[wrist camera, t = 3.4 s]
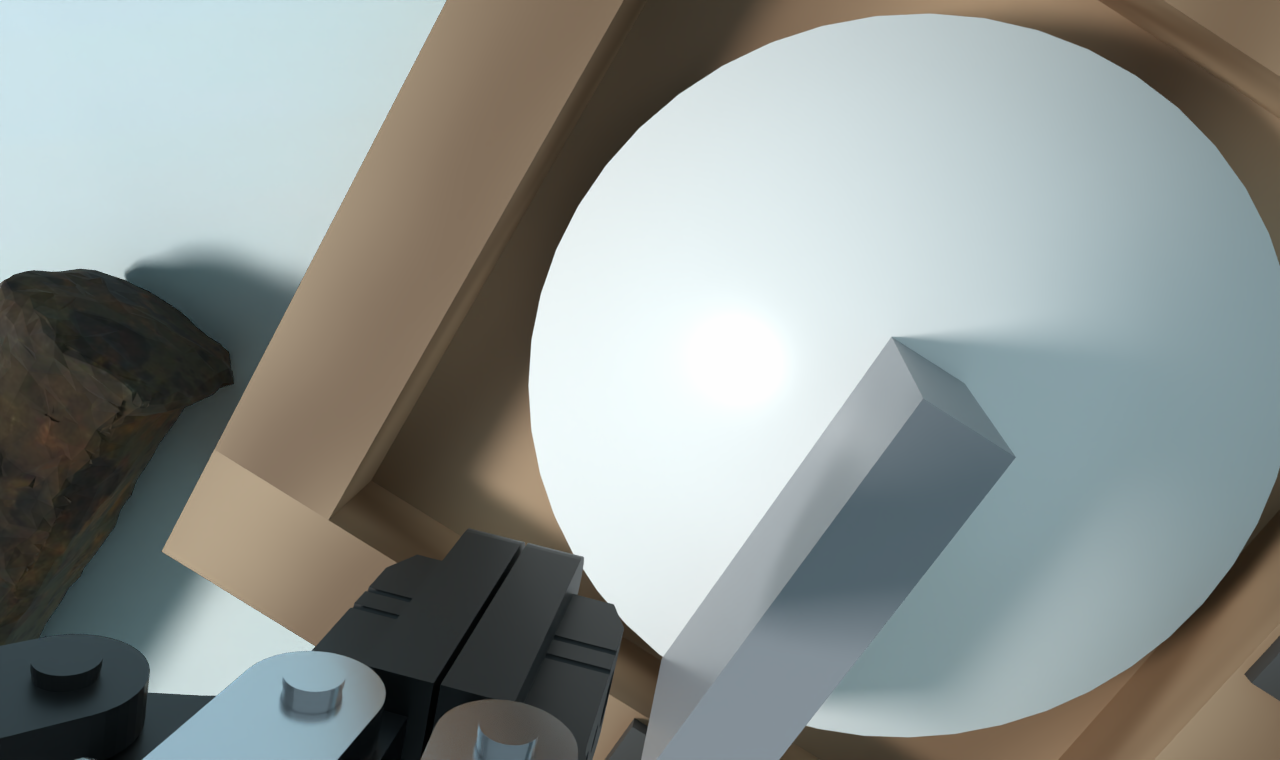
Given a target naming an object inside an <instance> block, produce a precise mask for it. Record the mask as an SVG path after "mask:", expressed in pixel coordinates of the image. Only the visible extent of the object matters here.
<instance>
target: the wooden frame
mask: <svg viewBox="0 0 1280 760" xmlns="http://www.w3.org/2000/svg"><path fill="white" fill-rule="evenodd" d="M930 13H931V14H942V15H954V16H965V17H977V18H986V19H991V20H995V21H999V22H1004V23H1008V24H1013V25H1017V26H1021V27H1026V28H1030V29H1035V30H1039V31H1041V32H1044V33H1046V34H1049V35H1052V36H1054V37H1057V38H1060V39H1062V40H1065V41H1068V42H1070V43H1073V44H1075V45H1078V46H1081V47H1083V48H1086V49H1089V50H1090V51H1092V52H1094V53H1096V54H1098V55H1099V56H1101V57H1103V58H1105V59H1107V60H1109V61H1110V62H1112V63H1114V64H1116V65H1118V66H1119V67H1121V68H1123V69H1125V70H1127V71H1128V72H1130V73H1132V74H1134V75H1136V76H1137V77H1138V78H1140V79H1141V80H1142V81H1144V82H1145V83H1146V84H1148V85H1149V86H1150V87H1151V88H1153V89H1154V90H1155V91H1157V92H1158V93H1159V94H1161V95H1162V96H1163V97H1165V98H1166V99H1167V100H1169V101H1170V102H1171V103H1173V104H1174V105H1175V106H1176V107H1178V108H1179V109H1180V110H1181V111H1182V112H1183V113H1184V114H1185V115H1186V116H1187V117H1188V118H1189V119H1190V120H1191V121H1192V122H1193V123H1194V124H1195V126H1196V127H1197V128H1198V129H1199V130H1200V131H1201V132H1202V133H1203V134H1204V135H1205V136H1206V137H1207V138H1208V139H1209V140H1210V141H1211V142H1212V143H1213V144H1214V145H1215V146H1216V148H1217V149H1218V150H1219V152H1220V153H1221V154H1222V156H1223V157H1224V159H1225V160H1226V161H1227V163H1228V164H1229V166H1230V167H1231V168H1232V170H1233V171H1234V173H1235V174H1236V175H1237V177H1238V178H1239V179H1240V181H1241V182H1242V184H1243V185H1244V186H1245V188H1246V190H1247V192H1248V194H1249V196H1250V197H1251V199H1252V201H1253V203H1254V205H1255V207H1256V209H1257V211H1258V213H1259V215H1260V217H1261V219H1262V221H1263V223H1264V225H1265V227H1266V229H1267V231H1268V233H1269V235H1270V238H1271V241H1272V244H1273V247H1274V250H1275V253H1276V256H1277V259H1278V262H1279V265H1280V0H447V1H446V3H445V5H444V7H443V9H442V10H441V12H440V14H439V16H438V18H437V20H436V22H435V24H434V26H433V28H432V30H431V32H430V34H429V36H428V38H427V39H426V41H425V43H424V45H423V47H422V49H421V51H420V53H419V55H418V57H417V59H416V61H415V63H414V65H413V66H412V68H411V70H410V72H409V74H408V76H407V78H406V80H405V82H404V84H403V86H402V88H401V90H400V92H399V94H398V95H397V97H396V99H395V101H394V103H393V105H392V107H391V109H390V111H389V113H388V115H387V117H386V119H385V121H384V123H383V124H382V126H381V128H380V130H379V132H378V134H377V136H376V138H375V140H374V142H373V144H372V146H371V148H370V150H369V152H368V153H367V155H366V157H365V159H364V161H363V163H362V165H361V167H360V169H359V171H358V173H357V175H356V177H355V179H354V181H353V182H352V184H351V186H350V188H349V190H348V192H347V194H346V196H345V198H344V200H343V202H342V204H341V206H340V208H339V210H338V211H337V213H336V215H335V217H334V219H333V221H332V223H331V225H330V227H329V229H328V231H327V233H326V235H325V237H324V238H323V240H322V242H321V244H320V246H319V248H318V250H317V252H316V254H315V256H314V258H313V260H312V262H311V264H310V266H309V267H308V269H307V271H306V273H305V275H304V277H303V279H302V281H301V283H300V285H299V287H298V289H297V291H296V293H295V295H294V296H293V298H292V300H291V302H290V304H289V306H288V308H287V310H286V312H285V314H284V316H283V318H282V320H281V322H280V324H279V325H278V327H277V329H276V331H275V333H274V335H273V337H272V339H271V341H270V343H269V345H268V347H267V349H266V351H265V353H264V354H263V356H262V358H261V360H260V362H259V364H258V366H257V368H256V370H255V372H254V374H253V376H252V378H251V380H250V382H249V383H248V385H247V387H246V389H245V391H244V393H243V395H242V397H241V399H240V401H239V403H238V405H237V407H236V409H235V410H234V412H233V414H232V416H231V418H230V420H229V422H228V424H227V426H226V428H225V430H224V432H223V434H222V436H221V438H220V439H219V441H218V443H217V445H216V447H215V449H214V451H213V453H212V455H211V457H210V459H209V461H208V463H207V465H206V467H205V468H204V470H203V472H202V474H201V476H200V478H199V480H198V482H197V484H196V486H195V488H194V490H193V492H192V494H191V496H190V497H189V499H188V501H187V503H186V505H185V507H184V509H183V511H182V513H181V515H180V517H179V519H178V521H177V523H176V525H175V526H174V528H173V530H172V532H171V534H170V536H169V538H168V540H167V542H166V544H165V546H164V548H163V550H162V552H163V553H165V554H166V555H168V556H170V557H171V558H173V559H175V560H176V561H178V562H179V563H181V564H183V565H184V566H186V567H188V568H189V569H191V570H192V571H194V572H196V573H197V574H199V575H201V576H202V577H204V578H205V579H207V580H209V581H210V582H212V583H214V584H215V585H217V586H218V587H220V588H222V589H223V590H225V591H227V592H228V593H230V594H231V595H233V596H235V597H236V598H238V599H240V600H241V601H243V602H244V603H246V604H248V605H249V606H251V607H253V608H254V609H256V610H257V611H259V612H261V613H262V614H264V615H266V616H267V617H269V618H270V619H272V620H274V621H275V622H277V623H279V624H280V625H282V626H283V627H285V628H287V629H288V630H290V631H292V632H293V633H295V634H296V635H298V636H300V637H301V638H303V639H305V640H306V641H308V642H309V643H311V644H313V645H314V646H316V645H317V644H318V643H319V642H320V641H321V640H322V639H323V638H324V636H325V635H326V634H327V633H328V632H329V631H330V630H331V629H332V628H333V626H334V625H335V624H336V623H337V622H338V621H339V620H340V619H341V617H342V616H343V615H344V614H345V613H346V612H347V611H348V610H349V609H350V607H351V608H353V606H354V603H355V602H356V601H357V600H358V598H359V597H360V596H361V595H362V594H363V593H364V592H365V591H368V588H369V586H370V585H371V584H372V583H373V582H374V581H375V580H376V578H377V577H378V576H379V575H380V574H381V573H382V572H383V571H384V569H385V568H386V567H389V566H391V565H393V564H396V563H398V562H401V561H403V560H405V559H408V558H410V557H413V556H415V555H421V556H425V557H429V558H433V559H437V560H441V561H442V560H443V559H444V558H445V557H446V555H447V554H448V553H449V551H450V550H451V549H452V548H453V546H454V545H455V544H456V542H457V541H458V540H459V539H460V537H461V536H462V535H463V533H464V532H465V531H466V530H467V529H468V528H471V529H475V530H479V531H483V532H487V533H490V534H494V535H498V536H502V537H506V538H510V539H514V540H518V541H522V542H525V546H526V545H527V544H528V543H531V544H535V545H539V546H543V547H547V548H551V549H555V550H559V551H563V552H567V553H571V554H573V552H572V550H571V548H570V546H569V544H568V542H567V540H566V538H565V536H564V534H563V532H562V530H561V528H560V526H559V524H558V522H557V520H556V518H555V516H554V513H553V510H552V507H551V504H550V501H549V498H548V496H547V493H546V490H545V487H544V484H543V481H542V478H541V475H540V471H539V466H538V461H537V456H536V451H535V446H534V441H533V436H532V431H531V417H530V401H529V386H528V384H529V370H530V355H531V340H532V335H533V330H534V325H535V320H536V315H537V310H538V305H539V301H540V296H541V292H542V289H543V286H544V283H545V281H546V278H547V275H548V272H549V269H550V266H551V263H552V260H553V258H554V255H555V252H556V249H557V247H558V245H559V243H560V241H561V239H562V237H563V235H564V233H565V231H566V229H567V227H568V225H569V223H570V221H571V219H572V217H573V215H574V213H575V211H576V209H577V207H578V206H579V204H580V203H581V201H582V200H583V198H584V197H585V195H586V194H587V192H588V191H589V189H590V188H591V187H592V185H593V184H594V182H595V181H596V179H597V178H598V176H599V175H600V173H601V172H602V170H603V169H604V168H605V166H606V165H607V164H608V163H609V161H610V160H611V159H612V158H613V157H614V156H615V155H616V154H617V153H618V151H619V150H620V149H621V148H622V147H623V146H624V145H625V144H626V142H627V141H628V140H629V139H630V138H631V137H632V136H633V135H634V134H635V132H636V131H637V130H638V129H639V128H640V127H641V126H642V125H644V124H645V123H646V122H647V121H648V120H649V119H651V118H652V117H653V116H654V115H655V114H656V113H658V112H659V111H660V110H661V109H662V108H663V107H665V106H666V105H667V104H668V103H669V102H670V101H672V100H673V99H674V98H675V97H676V96H677V95H679V94H680V93H682V92H683V91H685V90H686V89H688V88H689V87H691V86H692V85H694V84H695V83H697V82H698V81H700V80H702V79H703V78H705V77H706V76H708V75H709V74H711V73H712V72H714V71H715V70H717V69H718V68H720V67H721V66H723V65H725V64H727V63H729V62H731V61H734V60H736V59H738V58H740V57H742V56H744V55H746V54H748V53H750V52H752V51H754V50H757V49H759V48H761V47H763V46H765V45H767V44H769V43H771V42H774V41H778V40H781V39H784V38H787V37H790V36H793V35H796V34H799V33H802V32H805V31H808V30H811V29H814V28H817V27H821V26H825V25H830V24H836V23H841V22H847V21H852V20H857V19H863V18H868V17H874V16H889V15H909V14H930ZM578 595H579V596H583V597H587V598H591V599H595V600H599V601H603V602H607V601H606V600H605V599H604V598H603V597H602V596H601V594H600V593H599V592H598V591H597V589H596V588H595V586H594V585H593V583H592V582H591V580H590V579H589V577H588V576H587V574H586V573H585V571H584V570H583V571H582V577H581V582H580V586H579V591H578ZM620 620H621V622H622V624H623V627H624V631H623V635H622V640H621V644H620V649H619V653H618V657H617V662H616V666H615V671H614V675H613V680H612V684H611V688H610V693H609V697H608V702H607V706H606V711H605V715H604V719H603V724H602V728H601V733H600V736H599V740H598V743H597V746H596V750H595V753H594V756H593V760H641V758H642V753H643V748H644V743H645V738H646V733H647V728H648V723H649V719H650V714H651V709H652V704H653V699H654V694H655V689H656V684H657V679H658V674H659V670H660V665H661V660H662V658H663V657H662V656H661V655H660V654H658V653H657V652H656V651H655V650H654V649H653V648H652V647H651V646H649V645H648V644H647V643H646V642H645V641H644V640H643V639H642V638H641V637H640V636H638V635H637V634H636V633H635V632H634V631H633V630H632V629H631V628H630V627H629V626H627V625H626V623H625V622H624V621H623V620H622V619H621V618H620ZM779 760H1280V468H1279V471H1278V475H1277V479H1276V481H1275V483H1274V486H1273V488H1272V490H1271V493H1270V495H1269V498H1268V500H1267V502H1266V505H1265V507H1264V509H1263V512H1262V514H1261V517H1260V519H1259V521H1258V524H1257V525H1256V527H1255V529H1254V530H1253V532H1252V534H1251V535H1250V537H1249V539H1248V541H1247V542H1246V544H1245V546H1244V547H1243V549H1242V551H1241V552H1240V554H1239V556H1238V558H1237V559H1236V561H1235V563H1234V564H1233V566H1232V567H1231V568H1230V570H1229V571H1228V572H1227V573H1226V575H1225V576H1224V577H1223V579H1222V580H1221V581H1220V582H1219V584H1218V585H1217V586H1216V588H1215V589H1214V590H1213V591H1212V593H1211V594H1210V595H1209V597H1208V598H1207V599H1206V600H1205V602H1204V603H1203V604H1202V605H1201V606H1200V607H1199V608H1198V609H1197V610H1196V611H1195V612H1194V613H1193V614H1192V615H1191V616H1190V617H1189V618H1188V619H1187V620H1186V621H1185V622H1184V623H1183V624H1182V625H1181V626H1180V627H1179V628H1178V629H1177V630H1176V631H1175V632H1174V633H1173V634H1172V635H1171V636H1170V637H1169V638H1168V639H1166V640H1165V641H1164V642H1162V643H1161V644H1160V645H1158V646H1157V647H1156V648H1155V649H1153V650H1152V651H1151V652H1149V653H1148V654H1147V655H1146V656H1144V657H1143V658H1142V659H1140V660H1139V661H1138V662H1137V663H1135V664H1134V665H1133V666H1131V667H1130V668H1128V669H1127V670H1125V671H1123V672H1121V673H1120V674H1118V675H1116V676H1115V677H1113V678H1111V679H1110V680H1108V681H1106V682H1105V683H1103V684H1101V685H1100V686H1098V687H1096V688H1095V689H1093V690H1091V691H1090V692H1087V693H1085V694H1083V695H1081V696H1078V697H1076V698H1074V699H1072V700H1070V701H1067V702H1065V703H1063V704H1061V705H1058V706H1056V707H1054V708H1052V709H1049V710H1047V711H1044V712H1041V713H1038V714H1035V715H1032V716H1029V717H1025V718H1022V719H1019V720H1016V721H1013V722H1009V723H1006V724H1003V725H999V726H994V727H989V728H983V729H978V730H973V731H968V732H963V733H957V734H947V735H934V736H921V737H885V736H862V735H856V734H849V733H842V732H836V731H829V730H822V729H817V728H813V727H810V726H805V727H804V729H803V730H802V731H801V733H800V734H799V735H798V736H797V738H796V739H795V740H794V742H793V743H792V744H791V745H790V747H789V748H788V749H787V750H786V752H785V753H784V754H783V756H782V757H781V758H780V759H779Z"/></svg>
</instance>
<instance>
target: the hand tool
mask: <svg viewBox="0 0 1280 760" xmlns="http://www.w3.org/2000/svg"><path fill="white" fill-rule="evenodd" d="M232 384H234V380H233V372H232V370H231V365H230V357H229V352H228V351H227V350H226V349H225V348H223V347H222V345H221V344H219V343H218V342H216V341H214V340H213V339H211V338H209V337H208V336H207V335H206V334H205V333H203V332H202V331H201V330H199V329H198V328H197V327H196V326H195V325H194V324H193V323H192V322H191V321H190V320H189V319H188V318H187V317H186V316H184V315H183V314H182V313H181V312H180V311H179V310H177V309H175V308H174V307H172V306H171V305H169V304H168V303H166V302H165V301H163V300H162V299H160V298H159V297H157V296H155V295H154V294H152V293H150V292H149V291H146V290H144V289H142V288H139V287H137V286H135V285H133V284H131V283H129V282H127V281H126V280H123V279H120V278H117V277H114V276H111V275H108V274H105V273H102V272H99V271H96V270H87V269H76V270H68V271H61V272H47V271H35V270H33V271H26V272H22V273H18V274H15V275H13V276H11V277H10V278H8V279H6V280H4V281H3V282H1V283H0V646H2V645H7V644H12V643H17V642H22V641H28V640H33V639H38V638H39V637H40V634H41V632H42V630H43V628H44V627H45V625H46V623H47V621H48V620H49V618H50V617H51V615H52V614H53V612H54V611H55V609H56V608H57V607H58V605H59V604H60V602H61V601H62V599H63V597H64V595H65V593H66V592H67V590H68V588H69V587H70V586H71V585H72V584H73V583H74V582H75V581H76V580H77V579H78V578H79V577H80V576H81V573H82V571H83V569H84V567H85V566H86V565H87V564H88V562H89V561H90V560H91V559H92V557H93V556H94V555H95V554H96V552H97V551H98V549H99V548H100V547H101V545H102V544H103V542H104V541H105V539H106V538H107V537H108V535H109V534H110V532H111V531H112V529H113V528H114V527H115V525H116V523H117V519H118V516H119V513H120V510H121V508H122V507H123V505H124V504H125V503H126V501H127V500H128V498H129V497H130V496H131V494H132V492H133V489H134V486H135V484H136V481H137V479H138V477H139V476H140V474H141V473H142V471H143V470H144V468H145V467H146V465H147V464H148V462H149V461H150V459H151V458H152V456H153V454H154V452H155V450H156V449H157V447H158V445H159V443H160V442H161V440H162V439H163V438H164V436H165V435H166V434H167V432H168V431H169V429H170V428H171V427H172V425H173V424H174V422H175V421H176V419H177V418H178V416H179V415H180V413H181V412H182V411H183V409H184V408H185V407H186V406H189V405H192V404H194V403H196V402H198V401H200V400H202V399H204V398H206V397H209V396H211V395H213V394H214V393H215V392H216V391H217V390H218V389H219V388H222V387H225V386H228V385H232Z"/></svg>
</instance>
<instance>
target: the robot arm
mask: <svg viewBox="0 0 1280 760" xmlns="http://www.w3.org/2000/svg"><path fill="white" fill-rule="evenodd" d="M583 565H584V557H583V556H579V555H575V554H571V553H567V552H563V551H559V550H555V549H551V548H547V547H543V546H539V545H535V544H531V543H528V544H527V545H526V546H525V542H522V541H518V540H514V539H510V538H506V537H502V536H498V535H494V534H490V533H487V532H483V531H479V530H475V529H471V528H468V529H467V530H466V531H465V532H464V533H463V535H462V536H461V537H460V539H459V540H458V541H457V542H456V544H455V545H454V546H453V548H452V549H451V550H450V551H449V553H448V554H447V555H446V557H445V558H444V559H443V560H442V561H441V560H437V559H433V558H429V557H425V556H421V555H415V556H413V557H410V558H408V559H405V560H403V561H401V562H398V563H396V564H393V565H391V566H389V567H386V568H385V569H384V571H383V572H382V573H381V574H380V575H379V576H378V577H377V578H376V580H375V581H374V582H373V583H372V584H371V585H370V586H369V588H368V591H365V592H364V593H363V594H362V595H361V596H360V597H359V598H358V600H357V601H356V602H355V603H354V606H353V608H351V607H350V609H349V610H348V611H347V612H346V613H345V614H344V615H343V616H342V617H341V619H340V620H339V621H338V622H337V623H336V624H335V625H334V626H333V628H332V629H331V630H330V631H329V632H328V633H327V634H326V635H325V636H324V638H323V639H322V640H321V641H320V642H319V643H318V644H317V645H316V646H315V648H314V649H313V650H312V651H298V652H290V653H284V654H280V655H275V656H272V657H269V658H267V659H264V660H262V661H260V662H258V663H256V664H254V665H253V666H252V667H250V668H249V669H247V670H246V671H245V672H244V673H243V674H242V675H240V676H239V677H238V678H237V679H236V680H235V681H233V682H232V683H231V684H230V685H229V686H228V687H226V688H225V689H224V690H223V691H222V692H221V693H219V694H218V695H217V696H198V695H180V694H162V693H148V683H149V673H150V669H149V664H148V662H147V660H146V658H145V657H144V656H143V655H142V654H141V653H140V652H139V651H138V650H137V649H135V648H134V647H132V646H130V645H128V644H126V643H124V642H122V641H118V640H115V639H112V638H107V637H102V636H96V635H85V634H69V635H56V636H49V637H43V638H38V639H33V640H28V641H22V642H17V643H12V644H7V645H2V646H0V760H593V756H594V753H595V750H596V746H597V743H598V740H599V736H600V733H601V728H602V724H603V719H604V715H605V711H606V706H607V702H608V697H609V693H610V688H611V684H612V680H613V675H614V671H615V666H616V662H617V657H618V653H619V649H620V644H621V640H622V635H623V631H624V627H623V624H622V622H621V620H620V617H619V615H618V613H617V610H616V608H615V606H614V604H610V603H607V602H603V601H599V600H595V599H591V598H587V597H583V596H579V595H578V591H579V586H580V582H581V577H582V571H583Z"/></svg>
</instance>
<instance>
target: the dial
mask: <svg viewBox="0 0 1280 760" xmlns="http://www.w3.org/2000/svg"><path fill="white" fill-rule="evenodd" d="M528 386H529V401H530V417H531V431H532V436H533V441H534V446H535V451H536V456H537V461H538V466H539V471H540V475H541V478H542V481H543V484H544V487H545V490H546V493H547V496H548V498H549V501H550V504H551V507H552V510H553V513H554V516H555V518H556V520H557V522H558V524H559V526H560V528H561V530H562V532H563V534H564V536H565V538H566V540H567V542H568V544H569V546H570V548H571V550H572V552H573V554H575V555H579V556H583V557H584V565H583V570H584V571H585V573H586V574H587V576H588V577H589V579H590V580H591V582H592V583H593V585H594V586H595V588H596V589H597V591H598V592H599V593H600V594H601V596H602V597H603V598H604V599H605V600H606V601H607V603H610V604H614V606H615V608H616V610H617V613H618V615H619V617H620V618H621V619H622V620H623V621H624V622H625V623H626V625H627V626H629V627H630V628H631V629H632V630H633V631H634V632H635V633H636V634H637V635H638V636H640V637H641V638H642V639H643V640H644V641H645V642H646V643H647V644H648V645H649V646H651V647H652V648H653V649H654V650H655V651H656V652H657V653H658V654H660V655H661V656H662V657H663V658H662V660H661V665H660V670H659V674H658V679H657V684H656V689H655V694H654V699H653V704H652V709H651V714H650V719H649V723H648V728H647V733H646V738H645V743H644V748H643V753H642V758H641V760H779V759H780V758H781V757H782V756H783V754H784V753H785V752H786V750H787V749H788V748H789V747H790V745H791V744H792V743H793V742H794V740H795V739H796V738H797V736H798V735H799V734H800V733H801V731H802V730H803V729H804V727H805V726H810V727H813V728H817V729H822V730H829V731H836V732H842V733H849V734H856V735H862V736H885V737H921V736H934V735H947V734H957V733H963V732H968V731H973V730H978V729H983V728H989V727H994V726H999V725H1003V724H1006V723H1009V722H1013V721H1016V720H1019V719H1022V718H1025V717H1029V716H1032V715H1035V714H1038V713H1041V712H1044V711H1047V710H1049V709H1052V708H1054V707H1056V706H1058V705H1061V704H1063V703H1065V702H1067V701H1070V700H1072V699H1074V698H1076V697H1078V696H1081V695H1083V694H1085V693H1087V692H1090V691H1091V690H1093V689H1095V688H1096V687H1098V686H1100V685H1101V684H1103V683H1105V682H1106V681H1108V680H1110V679H1111V678H1113V677H1115V676H1116V675H1118V674H1120V673H1121V672H1123V671H1125V670H1127V669H1128V668H1130V667H1131V666H1133V665H1134V664H1135V663H1137V662H1138V661H1139V660H1140V659H1142V658H1143V657H1144V656H1146V655H1147V654H1148V653H1149V652H1151V651H1152V650H1153V649H1155V648H1156V647H1157V646H1158V645H1160V644H1161V643H1162V642H1164V641H1165V640H1166V639H1168V638H1169V637H1170V636H1171V635H1172V634H1173V633H1174V632H1175V631H1176V630H1177V629H1178V628H1179V627H1180V626H1181V625H1182V624H1183V623H1184V622H1185V621H1186V620H1187V619H1188V618H1189V617H1190V616H1191V615H1192V614H1193V613H1194V612H1195V611H1196V610H1197V609H1198V608H1199V607H1200V606H1201V605H1202V604H1203V603H1204V602H1205V600H1206V599H1207V598H1208V597H1209V595H1210V594H1211V593H1212V591H1213V590H1214V589H1215V588H1216V586H1217V585H1218V584H1219V582H1220V581H1221V580H1222V579H1223V577H1224V576H1225V575H1226V573H1227V572H1228V571H1229V570H1230V568H1231V567H1232V566H1233V564H1234V563H1235V561H1236V559H1237V558H1238V556H1239V554H1240V552H1241V551H1242V549H1243V547H1244V546H1245V544H1246V542H1247V541H1248V539H1249V537H1250V535H1251V534H1252V532H1253V530H1254V529H1255V527H1256V525H1257V524H1258V521H1259V519H1260V517H1261V514H1262V512H1263V509H1264V507H1265V505H1266V502H1267V500H1268V498H1269V495H1270V493H1271V490H1272V488H1273V486H1274V483H1275V481H1276V479H1277V475H1278V471H1279V468H1280V265H1279V262H1278V259H1277V256H1276V253H1275V250H1274V247H1273V244H1272V241H1271V238H1270V235H1269V233H1268V231H1267V229H1266V227H1265V225H1264V223H1263V221H1262V219H1261V217H1260V215H1259V213H1258V211H1257V209H1256V207H1255V205H1254V203H1253V201H1252V199H1251V197H1250V196H1249V194H1248V192H1247V190H1246V188H1245V186H1244V185H1243V184H1242V182H1241V181H1240V179H1239V178H1238V177H1237V175H1236V174H1235V173H1234V171H1233V170H1232V168H1231V167H1230V166H1229V164H1228V163H1227V161H1226V160H1225V159H1224V157H1223V156H1222V154H1221V153H1220V152H1219V150H1218V149H1217V148H1216V146H1215V145H1214V144H1213V143H1212V142H1211V141H1210V140H1209V139H1208V138H1207V137H1206V136H1205V135H1204V134H1203V133H1202V132H1201V131H1200V130H1199V129H1198V128H1197V127H1196V126H1195V124H1194V123H1193V122H1192V121H1191V120H1190V119H1189V118H1188V117H1187V116H1186V115H1185V114H1184V113H1183V112H1182V111H1181V110H1180V109H1179V108H1178V107H1176V106H1175V105H1174V104H1173V103H1171V102H1170V101H1169V100H1167V99H1166V98H1165V97H1163V96H1162V95H1161V94H1159V93H1158V92H1157V91H1155V90H1154V89H1153V88H1151V87H1150V86H1149V85H1148V84H1146V83H1145V82H1144V81H1142V80H1141V79H1140V78H1138V77H1137V76H1136V75H1134V74H1132V73H1130V72H1128V71H1127V70H1125V69H1123V68H1121V67H1119V66H1118V65H1116V64H1114V63H1112V62H1110V61H1109V60H1107V59H1105V58H1103V57H1101V56H1099V55H1098V54H1096V53H1094V52H1092V51H1090V50H1089V49H1086V48H1083V47H1081V46H1078V45H1075V44H1073V43H1070V42H1068V41H1065V40H1062V39H1060V38H1057V37H1054V36H1052V35H1049V34H1046V33H1044V32H1041V31H1039V30H1035V29H1030V28H1026V27H1021V26H1017V25H1013V24H1008V23H1004V22H999V21H995V20H991V19H986V18H977V17H965V16H954V15H942V14H931V13H930V14H909V15H889V16H874V17H868V18H863V19H857V20H852V21H847V22H841V23H836V24H830V25H825V26H821V27H817V28H814V29H811V30H808V31H805V32H802V33H799V34H796V35H793V36H790V37H787V38H784V39H781V40H778V41H774V42H771V43H769V44H767V45H765V46H763V47H761V48H759V49H757V50H754V51H752V52H750V53H748V54H746V55H744V56H742V57H740V58H738V59H736V60H734V61H731V62H729V63H727V64H725V65H723V66H721V67H720V68H718V69H717V70H715V71H714V72H712V73H711V74H709V75H708V76H706V77H705V78H703V79H702V80H700V81H698V82H697V83H695V84H694V85H692V86H691V87H689V88H688V89H686V90H685V91H683V92H682V93H680V94H679V95H677V96H676V97H675V98H674V99H673V100H672V101H670V102H669V103H668V104H667V105H666V106H665V107H663V108H662V109H661V110H660V111H659V112H658V113H656V114H655V115H654V116H653V117H652V118H651V119H649V120H648V121H647V122H646V123H645V124H644V125H642V126H641V127H640V128H639V129H638V130H637V131H636V132H635V134H634V135H633V136H632V137H631V138H630V139H629V140H628V141H627V142H626V144H625V145H624V146H623V147H622V148H621V149H620V150H619V151H618V153H617V154H616V155H615V156H614V157H613V158H612V159H611V160H610V161H609V163H608V164H607V165H606V166H605V168H604V169H603V170H602V172H601V173H600V175H599V176H598V178H597V179H596V181H595V182H594V184H593V185H592V187H591V188H590V189H589V191H588V192H587V194H586V195H585V197H584V198H583V200H582V201H581V203H580V204H579V206H578V207H577V209H576V211H575V213H574V215H573V217H572V219H571V221H570V223H569V225H568V227H567V229H566V231H565V233H564V235H563V237H562V239H561V241H560V243H559V245H558V247H557V249H556V252H555V255H554V258H553V260H552V263H551V266H550V269H549V272H548V275H547V278H546V281H545V283H544V286H543V289H542V292H541V296H540V301H539V305H538V310H537V315H536V320H535V325H534V330H533V335H532V340H531V355H530V370H529V384H528Z"/></svg>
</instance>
